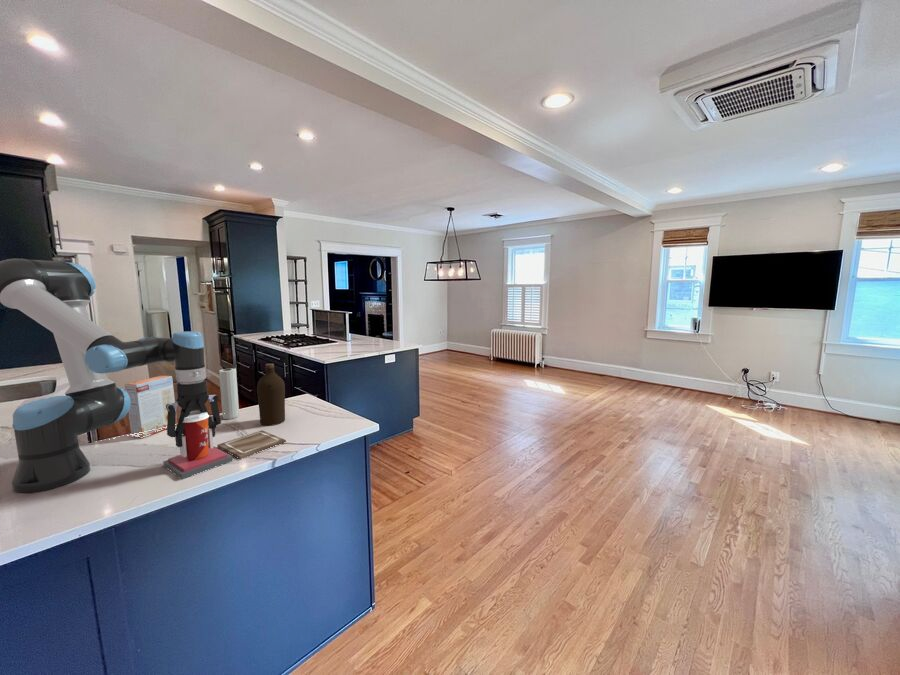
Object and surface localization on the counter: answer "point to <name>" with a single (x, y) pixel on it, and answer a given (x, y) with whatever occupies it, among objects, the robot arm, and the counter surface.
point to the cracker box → (150, 404)
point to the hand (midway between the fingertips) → (197, 451)
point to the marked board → (251, 444)
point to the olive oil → (271, 397)
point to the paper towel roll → (229, 393)
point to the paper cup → (196, 435)
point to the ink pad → (196, 463)
